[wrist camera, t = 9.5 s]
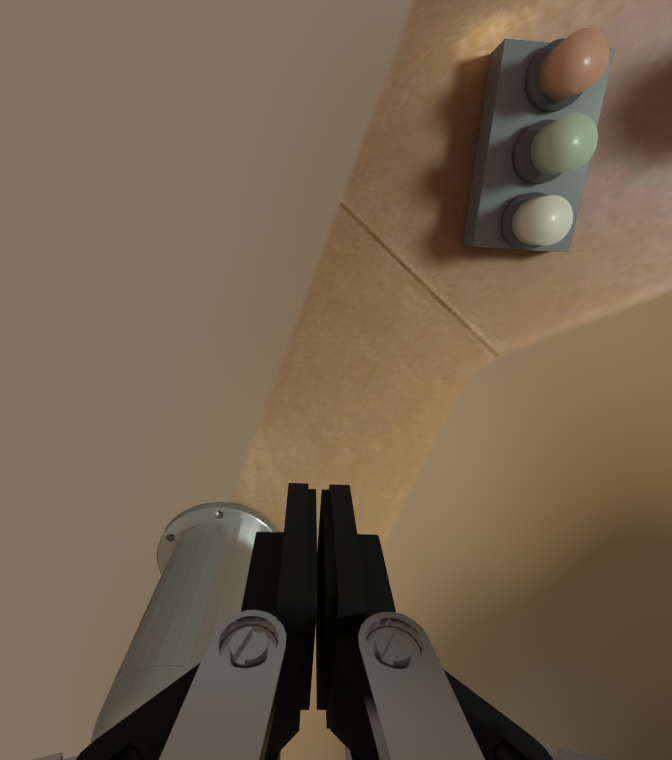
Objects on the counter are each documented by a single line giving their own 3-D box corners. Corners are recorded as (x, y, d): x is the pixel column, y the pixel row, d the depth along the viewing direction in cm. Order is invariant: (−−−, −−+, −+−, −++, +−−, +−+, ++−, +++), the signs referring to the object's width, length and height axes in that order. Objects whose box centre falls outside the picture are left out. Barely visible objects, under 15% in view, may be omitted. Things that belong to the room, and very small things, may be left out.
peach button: (581, 102, 29) (601, 92, 27) (534, 98, 28) (552, 88, 26) (593, 45, 28) (615, 30, 26) (545, 41, 27) (564, 25, 25)
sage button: (571, 176, 29) (590, 171, 27) (526, 172, 29) (542, 168, 27) (582, 123, 28) (603, 114, 26) (536, 119, 28) (553, 110, 26)
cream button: (550, 245, 32) (566, 246, 30) (508, 243, 31) (522, 243, 29) (560, 199, 31) (578, 196, 28) (516, 196, 30) (531, 193, 28)
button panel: (551, 251, 35) (574, 252, 32) (462, 245, 35) (476, 246, 32) (592, 62, 31) (622, 43, 28) (490, 53, 31) (510, 33, 28)
